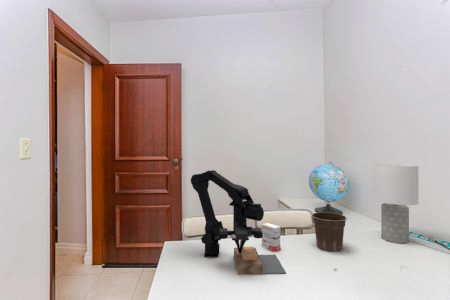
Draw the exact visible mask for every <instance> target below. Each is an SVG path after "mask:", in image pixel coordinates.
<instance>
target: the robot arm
mask: <svg viewBox="0 0 450 300" xmlns="http://www.w3.org/2000/svg"><path fill="white" fill-rule="evenodd" d="M210 181H211V182H212V183H214V184H215V185H217V186H218V187H220V188H221V189H222V190H224V191H225V192H226V193H227V195H228V197H229V198H230V199H231V200H232V201H231V202H230V203H229V204H228V206H231V207H233V211H232V212H233V213H232V215H233V223H232V224H233V227H232V228H233V229H232V230H228V228H226V227H224V226H223V221H221V220H220V221H219V220H218V219H217V217H216V214H215V211H214V208H213V205H212V201H211V197H210V194H209V191H208V189H209V186H210V185H209V184H210V183H209V182H210ZM190 183H191V186H192V188H193V189H194V191H195V192H197V195H198V198H199V201H200V205H201V209H202V212H203V216H204V220H205V226H204V234H203V236H201V238H200V239H201V243H202V244H204V258H217V257H218V258H219V255H220V243H219V241H221V240H222V239H223V240H226V239H227V238H228V236H230V237H231V240H232V241H234V243H235V245H236V248H238V251H239V253H241V252H242V249H243V247H245V243H246V242H247V241H249V240H250V238H249V237H252V236H253V238H255V239H262V238H263V234H262V228H260V227H253V226H248V225H247V222H248V221H247V219H248V220H253V221H257V222H262V220H263V218H264V215H265V211H264V208H263V207H262V204H261V203H255V202H254V200H253V198H252V196H251V195H250V193H249V189H248V188H247V187H245V186H243V185H240V184H236V183H234V182H231V181H230V180H229V179H228V178H226V177H224V176H223V175H222V174H221V173H218V172H217V171H216V170H206V171H205V172H201V173H197V174H196V173H195V174H192V175H191V178H190Z"/></svg>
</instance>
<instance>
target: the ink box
mask: <svg viewBox="0 0 450 300" xmlns="http://www.w3.org/2000/svg"><path fill="white" fill-rule="evenodd" d="M261 231H262V234H263V238H261V247H262V248H263V249H267V250H269V251H271V252H273V253H277V252H278V251H280V250H281V226H279V225H276V224H272V223H269V222H266V223H262V224H261Z"/></svg>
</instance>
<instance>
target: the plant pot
mask: <svg viewBox="0 0 450 300" xmlns="http://www.w3.org/2000/svg"><path fill="white" fill-rule="evenodd" d="M311 217H312V220H313V224H314V231H315V233H314V234H315V240H316V246H317V248H318V249H320V250H322V251H324V250H326V252H330V253H337V252H341V251H342V250H343V246H344V245H343V243H344V232H345V227H346V221H347V217H346V215H343V214H341V213H335V212H330V211H323V212H322V211H320V212H319V211H317V212H314V213H312V214H311Z"/></svg>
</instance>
